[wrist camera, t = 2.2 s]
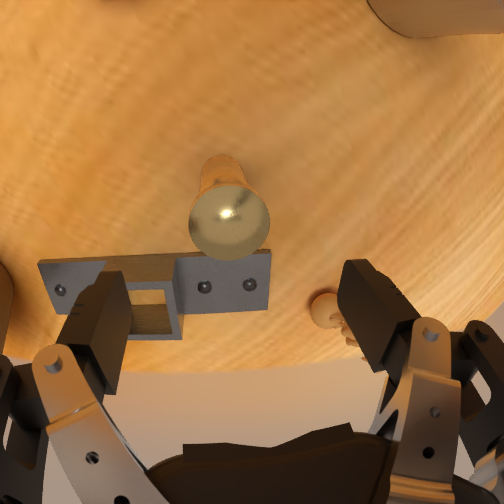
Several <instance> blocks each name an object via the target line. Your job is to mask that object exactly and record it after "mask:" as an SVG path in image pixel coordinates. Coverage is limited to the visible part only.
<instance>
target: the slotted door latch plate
mask: <svg viewBox="0 0 504 504" xmlns="http://www.w3.org/2000/svg"><path fill="white" fill-rule="evenodd" d="M37 265H38V268H39V270H40V273H41V276H42V279H43V281H44V284H45V287H46V289H47V292H48V294H49V297H50V299H51V302H52V304H53V306H54V309H55V311H56V313H57V314H65V315H70V311H71V309H72V307H73V306H74V303H75V301H76V299H77V297H78V295H79V294H80V293H81V292H82V291H83V290H84V289H85V288H86V287H87V286H88V285H94V283H95V281H96V279H97V277H98V275H99V273H100V272H101V271H118V270H120V271H122V273H123V276H124V280H125V284H126V288H127V290H150V289H164V292H165V298H166V303H167V304H166V305H131V308H132V322H131V327H130V331H129V335H128V339H127V340H182V335H183V320H184V314H206V313H226V312H243V311H257V310H268V296H269V281H270V266H271V251H270V249H265V250H256V251H255V252H254V253H252V254H250V255H249V256H247V257H244V258H241V259H238V260H231V261H225V260H218V259H215V258H212V257H210V256H208V255H206V254H204V253H203V252H198V253H177V254H155V255H133V256H112V257H91V258H70V259H50V260H40V261H39V262H38V263H37Z"/></svg>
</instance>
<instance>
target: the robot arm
mask: <svg viewBox="0 0 504 504" xmlns="http://www.w3.org/2000/svg"><path fill="white" fill-rule="evenodd" d="M368 2H369V4H370V6H371V7H372V9H373V10H374V12H375V13H376V14H377V16H378V17H379V18H380V19H381V20H382V21H383V22H384V23H385V24H386V25H388V26H389V27H390V28H391V29H393V30H394V31H396V32H398V33H400V34H401V35H404V36H407V37H410V38H423V37H431V36H435V37H441V36H452V35H467V34H500V33H504V0H368ZM337 304H338V308H339V310H340V312H341V314H342V316H343V317H344V319H345V321H346V323H347V324H348V326H349V328H350V330H351V332H352V333H353V335H354V337H355V339H356V341H357V343H358V344H359V346H360V348H361V350H362V352H363V354H364V356H365V357H366V359H367V361H368V363H369V365H370V366H371V369H372V371H373V372H374V373H376V372H380V371H383V370H386V371H387V373H388V375H387V377H386V379H385V381H384V385H383V389H382V393H381V397H380V400H379V404H378V407H377V411H376V414H375V418H374V420H373V423H372V425H371V427H370V429H369V431H368V433H363V432H353V430H352V427H351V425H350V423H346V424H341V425H337V426H333V427H329V428H324V429H320V430H315V431H311V432H309V433H307V434H305V435H302V436H300V437H298V438H295V439H293V440H291V441H288V442H286V443H283V444H281V445H278V446H275V447H271V448H266V447H256V446H247V445H238V444H231V443H212V444H211V443H209V444H183V454H181V455H176V456H174V457H171V458H168V459H165V460H163V461H161V462H159V463H157V464H156V465H155V466H152V467H151V468H150V469H148V468H147V467H146V465H145V464H144V463H143V462H142V460H141V459H140V458H139V457H138V455H137V454H136V453H135V451H134V450H133V449H132V448H131V446H130V445H129V443H128V442H127V440H126V439H125V438H124V436H123V435H122V433H121V432H120V430H119V429H118V427H117V426H116V424H115V423H114V421H113V419H112V418H111V416H110V415H109V413H108V412H107V410H106V408H105V407H104V405H103V403H102V402H103V398H104V394H107V395H116V390H117V386H118V380H119V375H120V370H121V366H122V361H123V356H124V352H125V347H126V343H127V339H128V335H129V331H130V327H131V322H132V308H131V303H130V300H129V296H128V292H127V288H126V284H125V280H124V276H123V273H122V271H120V270H118V271H101V272H100V273H99V275H98V277H97V279H96V281H95V283H94V285H88V286H87V287H86V288H85V289H84V290H83V291H82V292H81V293H80V294H79V295H78V297H77V299H76V301H75V303H74V306H73V307H72V309H71V311H70V315H68V317H67V319H66V321H65V323H64V325H63V328H62V330H61V332H60V334H59V336H58V339H57V341H56V343H55V344H52V345H49V346H46V347H45V348H43V349H42V350H40V351H39V352H38V353H37V354H36V356H35V357H34V360H33V362H32V363H29V364H24V365H18V366H13V365H12V363H11V362H10V360H9V359H8V357H6V356H5V355H1V354H0V504H42V492H43V480H44V470H45V462H46V454H47V447H48V441H49V439H50V441H51V444H52V446H53V448H54V451H55V453H56V455H57V457H58V459H59V461H60V463H61V465H62V467H63V469H64V471H65V473H66V475H67V477H68V479H69V481H70V483H71V485H72V486H73V488H74V490H75V492H76V493H77V495H78V497H79V498H80V500H81V502H82V504H504V343H503V342H502V340H501V339H500V338H499V336H498V335H497V334H496V333H495V331H494V330H493V329H492V328H491V327H490V326H489V325H487V324H486V323H484V322H482V321H479V320H472V321H470V322H469V323H468V324H467V326H466V328H465V329H464V331H463V332H449V330H448V329H447V327H446V326H445V325H444V324H443V323H441V322H440V321H438V320H436V319H433V318H430V317H421V316H420V314H419V313H418V312H417V311H416V309H415V308H414V307H413V306H412V305H411V303H410V302H409V301H408V300H407V298H406V297H405V296H404V295H402V292H401V291H400V290H399V289H398V288H396V285H395V284H394V283H393V282H392V281H391V280H390V278H389V277H387V276H385V275H384V274H382V273H381V272H379V271H376V269H375V268H374V267H373V266H372V265H371V264H370V262H369V261H368V260H367V259H353V260H346V261H345V263H344V266H343V271H342V275H341V280H340V284H339V289H338V293H337ZM478 370H479V372H480V373H481V375H482V376H483V378H484V380H485V381H486V383H487V384H488V386H489V387H490V390H491V399H490V401H489V403H488V404H487V405H485V403H484V402H483V400H482V398H481V397H480V395H479V393H478V392H477V390H476V388H475V387H474V385H473V383H472V382H471V379H472V378H473V377H474V375H475V373H477V371H478ZM8 416H9V417H10V418H11V419H12V424H11V429H10V433H9V437H8V441H7V446H6V451H5V449H4V446H3V435H4V432H5V428H6V424H7V420H8ZM459 435H460V437H461V439H462V441H463V444H464V446H465V448H466V450H467V453H468V454H469V457H470V459H471V461H472V464H473V466H474V474H473V475H472V476H470V478H469V481H468V480H465V479H463V478H461V477H459V476H457V475H455V474H453V472H454V467H455V460H456V453H457V445H458V436H459Z"/></svg>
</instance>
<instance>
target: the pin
mask: <svg viewBox="0 0 504 504" xmlns="http://www.w3.org/2000/svg"><path fill="white" fill-rule="evenodd" d="M269 227H270V217H269V213H268V209H267V207H266V205H265V203H264V201H263V200H262V198H261V197H260V195H259V194H258V193H257V192H256V191H255V190H253V189H252V188H250V187H249V185H248V183H247V181H246V179H245V176H244V174H243V172H242V170H241V167H240V165H239V164H238V162H237V161H236V160H235V159H233V158H232V157H230V156H226V155H219V156H215V157H213V158H211V159H210V160H208V161H207V162H206V164H205V165H204V167H203V170H202V177H201V185H200V194H199V195H198V197H197V198H196V199H195V201H194V203H193V205H192V207H191V211H190V216H189V233H190V236H191V238H192V240H193V242H194V244H195V245H196V246H197V248H198V249H199V250H201V251H202V252H203V253H204V254H206V255H208V256H210V257H212V258H215V259H218V260H225V261H231V260H238V259H241V258H244V257H247V256H249V255H250V254H252V253H254V252H255V251H256V250H257V249H258V248H259V247H260V246H261V245H262V244H263V242H264V241H265V239H266V237H267V235H268V232H269Z"/></svg>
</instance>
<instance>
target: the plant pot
mask: <svg viewBox="0 0 504 504" xmlns="http://www.w3.org/2000/svg"><path fill="white" fill-rule="evenodd" d="M13 295H14V288H13V283H12V280H11V278H10V276H9V274H8V272H7V271H6V269H5V268H4V266H3V265H2V264H1V263H0V354H1V355H2V353H3V348H4V343H5V338H6V333H7V328H8V323H9V318H10V312H11V307H12V301H13Z"/></svg>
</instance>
